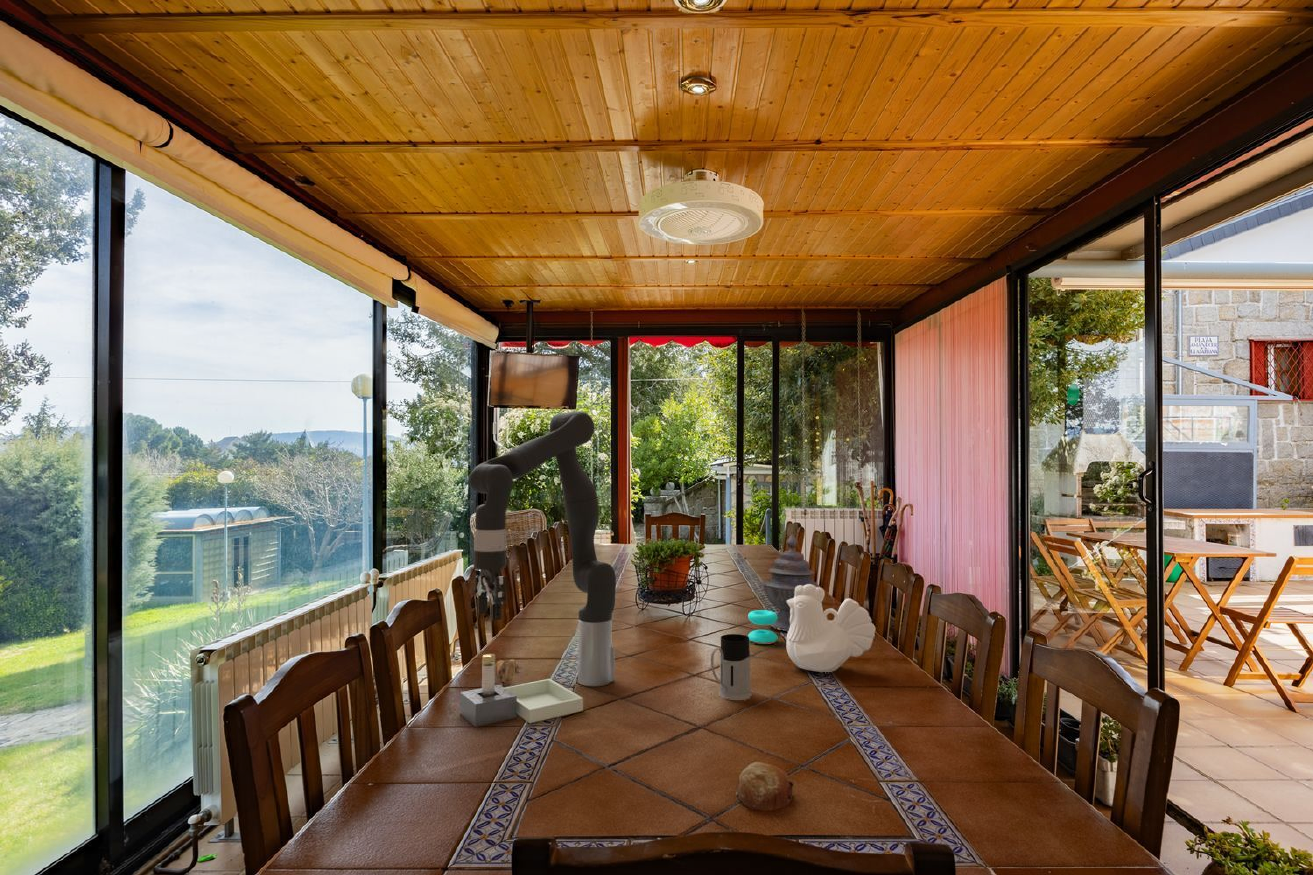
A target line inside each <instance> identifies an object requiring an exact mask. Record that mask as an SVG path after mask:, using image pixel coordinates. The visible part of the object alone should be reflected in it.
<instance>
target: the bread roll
mask: <svg viewBox="0 0 1313 875" xmlns="http://www.w3.org/2000/svg"><path fill="white" fill-rule="evenodd" d="M738 776H739V778H738V783H737V785H738V788H737V791H736V792H735V795H736V796H737V797H738V799H739V800H740V801H741V802H742V804H743V805H744V806H745V807H747V808H750V809H752V810H757V811H764V812H765V811H766V812H767V811H768V812H769V811H775V810H779V809H778V808H780V809H784V808H785V807H786V805H787V806H788V805H789V804H790V803H791V801H792V799H793V786H794V783H793V782H792V780H791V779H790V777H789V775H788V774H787V773H786V772H785V771H784V770H783V769H781V768H780V767H778V766H776V765H773V764H770V763H765V762H760V761H755V762H751V763H750V764H749V765H747V766H746V767H745V768H744V769H743V770H742V772H741V773H740V775H738ZM774 809H775V810H774Z"/></svg>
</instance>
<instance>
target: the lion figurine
mask: <svg viewBox="0 0 1313 875" xmlns="http://www.w3.org/2000/svg"><path fill="white" fill-rule="evenodd" d="M521 671H522V667H521V666H519V665H518V664H517V662H516V659H509V660H498V661H497V662H495V685H501V686H503V687H504V684H505V683H506V684H507V686H506V687H510V686H512V681H513V680H514V679H515V678H516V675H518V676H519V675H520V672H521ZM503 682H504V683H503Z"/></svg>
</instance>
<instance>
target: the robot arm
mask: <svg viewBox="0 0 1313 875" xmlns="http://www.w3.org/2000/svg"><path fill="white" fill-rule="evenodd" d="M594 433H595V423H594V420H593V419H592V417H591V415H589V414H588V413H586V412H584V411H570V412H561V413H557V414H555V415H553V417H552V418H551V420H550V423H549V432H548V433H547V434H545V435H544V434H543V435H541V436H539V437H536V438H534V439H531V440H527V441H526V442H523V443H521V444H519V445H518V446H516V447H514V448H512V449H511V450H509V451H507V452H506V453H505V454H503V455H499V456H497V457H493V458H491V459H489V460H486V461H484V462H482V463H479V464H478V465H477V466H475V467H474V468H473V469H472V471H471V473H470V474H469V475H470V476H469V486H470V487H471V489H472V490H473V491H475V492H476V493H479V494H483V495H484V494H487V497H486V500H485V503H483V504H480V505H477V507H476V509H475V522H474V523H475V524H474V525H475V530H474V531H475V532H474V538H473V568H474V575H473V576H474V577H473V579H474V580H473V593H474V595H475V596H476V597H477V613H478V614H480V615H482V614H483V615H484V614H487V613H488V611H489V610H488V607H489V606H488V604H489V601H488V600H489V597H490V601H491V610H490V611H491V612H490V613H491V614H490V615H491V617H490V618H491V621H500V620H501V619H502V611H503V610H502V605H503V604H504V603H506V602H507V576H506V575H501V572H500V570H502V569H504V568H506V567H507V532H506V531H507V530H506V523H507V522H506V517H507V516H506V512H507V509H508V505H509V501H510V498H511V494H512V490H513V483H514V481H513V480H517V479H520V478H522V477H524V476H525V475H527V474H530V472H532V471H533V470H535V469H536V468H538V467H539V466H541V465H543V464H544V463H546V462H547V461H549V460H551V459H553V458H555V459H556V464H557V467H558V472H559V477H560V478H559V479H560V484H561V488H562V496H563V503H564V510H565V515H566V519H567V526H568V534H569V539H570V545H571V547H570V548H571V557H572V558H571V559H572V560H571V564H572V575H573V582H574V584H575V586H576V588H577V589H578V590H579V591H581V592H583V593H586V594H587V595H586V596H587V597H586V604H585V606H581V608H579V610H578V645H577V646H578V652H577V653H578V654H577V655H578V656H577V658H578V660H577V661H578V662H577V668H578V669H577V683H578V684H580V685H582V686H585V687H602V686H606V685H609V684H610V683H611V682H614V681H615V661H616V660H615V656H616V655H615V652H616V651H615V648H616V647H615V646H614V645H612V642H613V638H612V635H613V632H612V631H613V630H612V629H613V626H612V624H613V620H612V619H613V612H614V609H615V606H616V589H617V576H616V572H615V570H614V567H613V566H612V565H611V564H609V563H607V562H605V561H600V560H598V559H597V553H596V549H595V548H596V547H595V535H596V532H597V531H596V529H597V527H598V523H599V518H600V506H599V501H598V495H597V489H596V488H595V485H594V483H593V481H591V479H590V477H589V475H588V474H587V473H586V472H585V470H584V468H583V467H582V465H581V463H580V461H579V459H578V458H579V457H578V454H577V449H576V447H578V446H582V445H584V444H586V443H588V442H589V441H590V440H591V439H592V437H593V435H594Z"/></svg>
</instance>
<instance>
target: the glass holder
mask: <svg viewBox="0 0 1313 875" xmlns="http://www.w3.org/2000/svg"><path fill="white" fill-rule="evenodd" d="M718 650H719V653H720V657H719V678H718V676H717V673H716V670H715V664H714V662H715V661H714V660H715V659H714V656H715V653H716V652H717V651H718ZM710 667H711V672H712V675H713V677H714V679H715V680H716V681H717V683H719V692H718V693H719V695H718V697H719V696H721V697H723V698H726V699H730V700H742V699H747V698H749V697H750V696H752V697H753V694H752V693H751V651H750V641H749V637H748V635H744V634H738V633H729V634H728V633H727V634H724V635H721V636H720V647H715V648H714V649H713V650H712V652H711V655H710ZM730 700H729V701H730Z"/></svg>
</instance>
